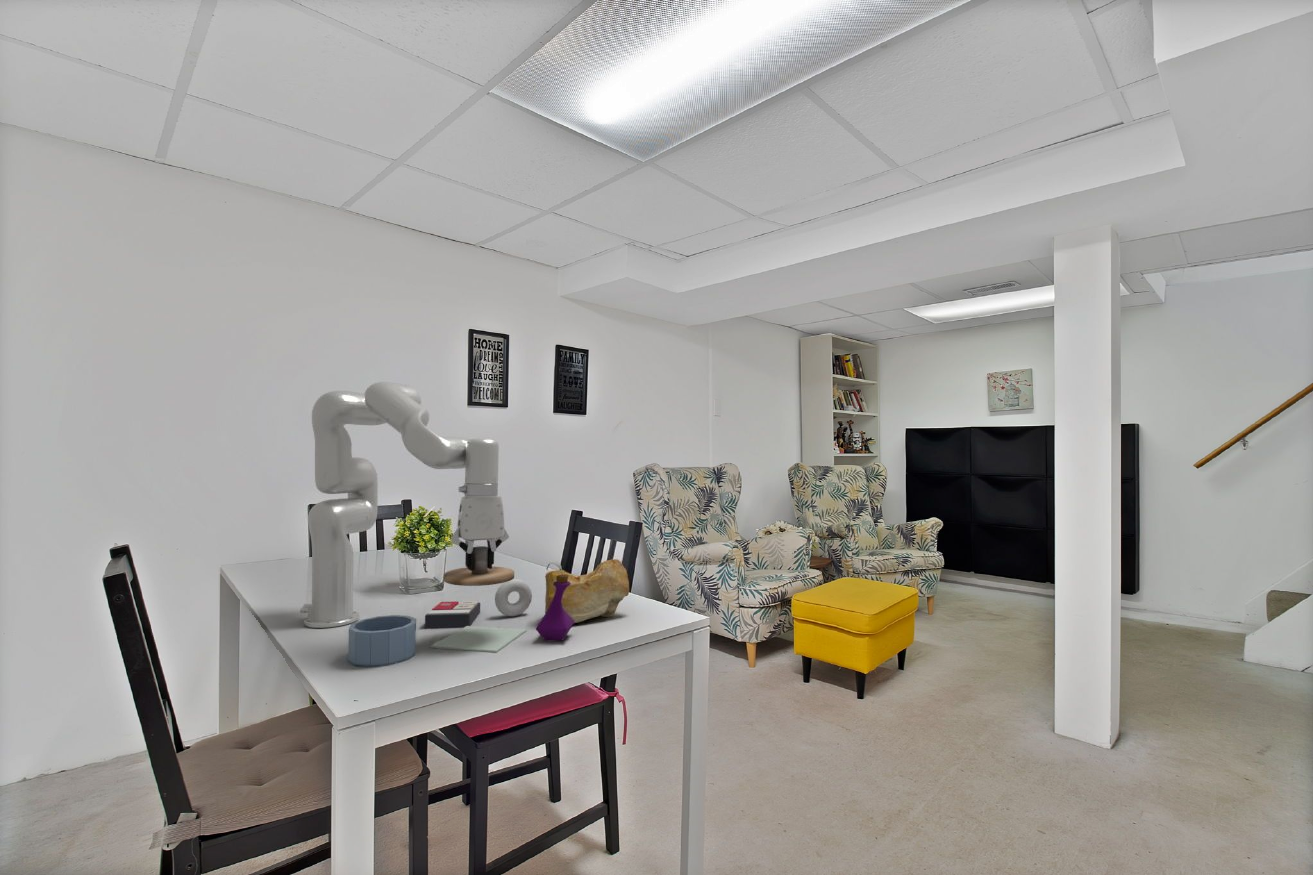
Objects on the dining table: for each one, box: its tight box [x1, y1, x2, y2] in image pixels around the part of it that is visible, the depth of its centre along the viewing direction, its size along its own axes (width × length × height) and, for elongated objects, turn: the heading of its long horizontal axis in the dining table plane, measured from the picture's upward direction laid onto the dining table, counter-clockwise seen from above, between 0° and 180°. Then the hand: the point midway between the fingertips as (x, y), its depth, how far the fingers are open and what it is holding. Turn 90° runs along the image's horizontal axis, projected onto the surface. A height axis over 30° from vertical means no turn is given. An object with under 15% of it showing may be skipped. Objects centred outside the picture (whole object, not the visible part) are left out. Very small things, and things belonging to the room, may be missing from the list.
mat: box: [430, 625, 528, 653], centre depth 142 cm, size 16×16×1 cm
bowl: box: [347, 614, 417, 668], centre depth 130 cm, size 13×13×7 cm
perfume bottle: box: [535, 561, 575, 642], centre depth 143 cm, size 8×8×18 cm
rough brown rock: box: [544, 558, 630, 624], centre depth 162 cm, size 23×17×15 cm
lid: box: [443, 546, 515, 587], centre depth 142 cm, size 16×16×7 cm
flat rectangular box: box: [424, 600, 481, 630], centre depth 158 cm, size 11×4×15 cm
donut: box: [494, 578, 533, 617], centre depth 162 cm, size 10×3×10 cm, turn 119°
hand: (479, 567), depth 142 cm, fingers closed on lid, 3 cm apart
